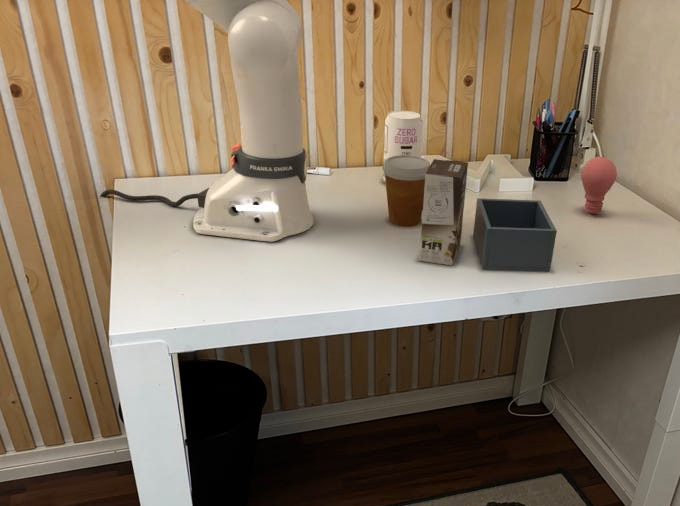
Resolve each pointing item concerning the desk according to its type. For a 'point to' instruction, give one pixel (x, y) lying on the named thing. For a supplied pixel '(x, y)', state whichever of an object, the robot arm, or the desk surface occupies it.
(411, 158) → the disposable coffee cup
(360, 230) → the desk surface
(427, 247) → the coffee box
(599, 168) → the light bulb
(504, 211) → the open box
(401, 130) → the supplement can
